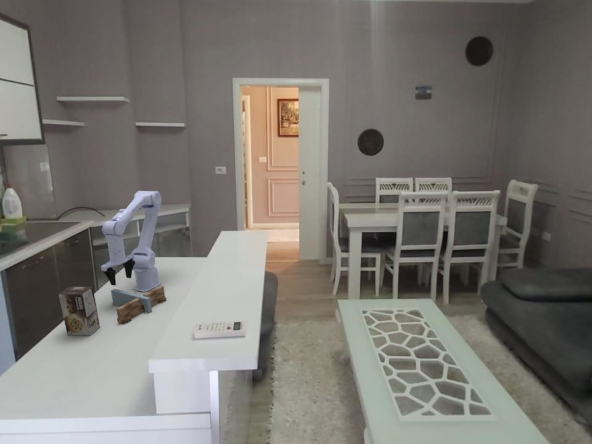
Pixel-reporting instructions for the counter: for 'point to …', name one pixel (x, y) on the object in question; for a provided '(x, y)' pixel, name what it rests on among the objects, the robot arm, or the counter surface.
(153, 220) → the robot arm
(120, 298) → the grey notched plate
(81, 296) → the coffee box
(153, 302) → the walnut slotted plate
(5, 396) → the counter surface
